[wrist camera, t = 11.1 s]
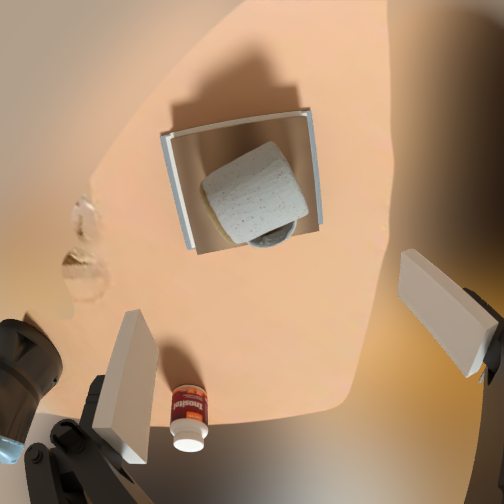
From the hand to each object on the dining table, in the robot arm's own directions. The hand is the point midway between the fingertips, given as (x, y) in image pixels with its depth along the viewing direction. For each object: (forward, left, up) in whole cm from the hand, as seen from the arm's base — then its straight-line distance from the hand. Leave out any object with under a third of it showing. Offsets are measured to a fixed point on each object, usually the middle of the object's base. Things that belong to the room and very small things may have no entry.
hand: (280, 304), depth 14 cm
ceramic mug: (+2, 0, -20) cm, 20 cm away
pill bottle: (-15, -33, -23) cm, 43 cm away
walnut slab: (+1, +1, -22) cm, 22 cm away
